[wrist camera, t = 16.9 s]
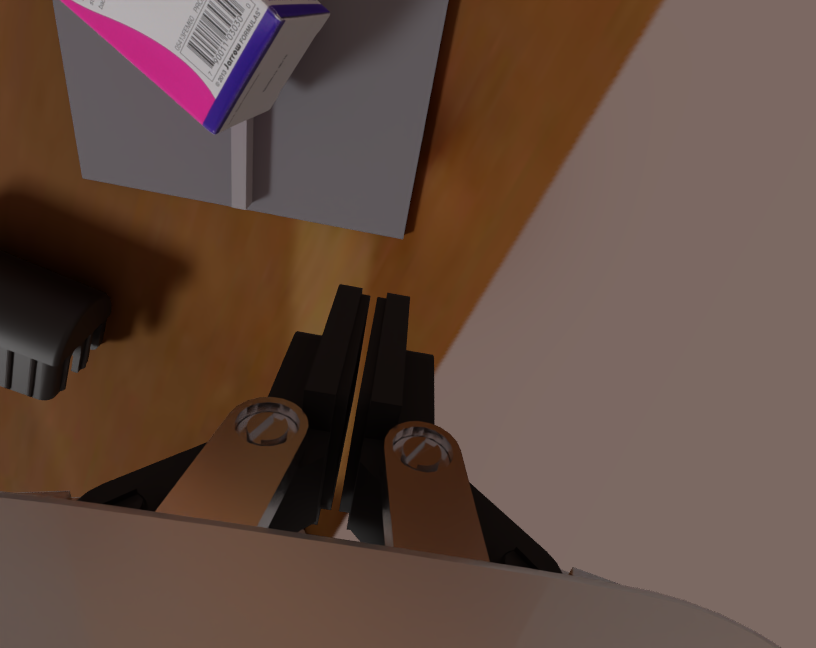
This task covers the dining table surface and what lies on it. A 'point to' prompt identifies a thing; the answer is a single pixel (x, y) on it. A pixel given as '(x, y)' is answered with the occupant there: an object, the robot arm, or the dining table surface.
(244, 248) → the dining table surface
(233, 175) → the mat
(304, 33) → the supplement box
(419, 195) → the dining table surface
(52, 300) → the end cap
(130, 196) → the dining table surface
